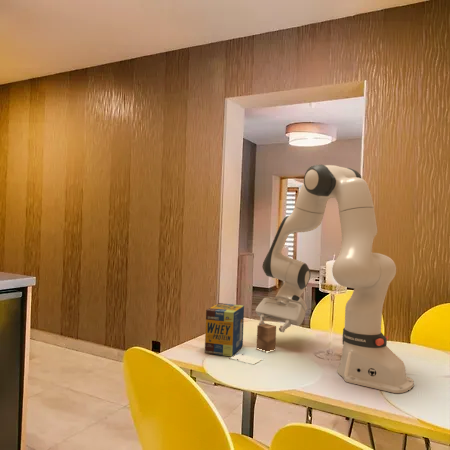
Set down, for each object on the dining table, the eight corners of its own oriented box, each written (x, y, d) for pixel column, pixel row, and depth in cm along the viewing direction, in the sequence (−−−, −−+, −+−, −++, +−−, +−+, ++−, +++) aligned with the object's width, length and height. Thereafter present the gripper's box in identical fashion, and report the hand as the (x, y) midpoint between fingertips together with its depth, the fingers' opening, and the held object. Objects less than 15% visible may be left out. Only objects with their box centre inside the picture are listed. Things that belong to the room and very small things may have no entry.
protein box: (204, 353, 145) (205, 309, 146) (217, 342, 160) (218, 302, 160) (232, 357, 142) (233, 312, 143) (243, 345, 157) (244, 304, 157)
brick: (275, 350, 154) (276, 326, 154) (267, 352, 150) (268, 328, 150) (264, 347, 157) (265, 323, 157) (256, 349, 153) (257, 325, 153)
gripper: (262, 291, 168) (246, 318, 161) (305, 299, 154) (290, 329, 147) (268, 300, 171) (252, 327, 164) (311, 309, 158) (296, 339, 150)
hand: (270, 328), depth 156 cm, fingers open, 8 cm apart
